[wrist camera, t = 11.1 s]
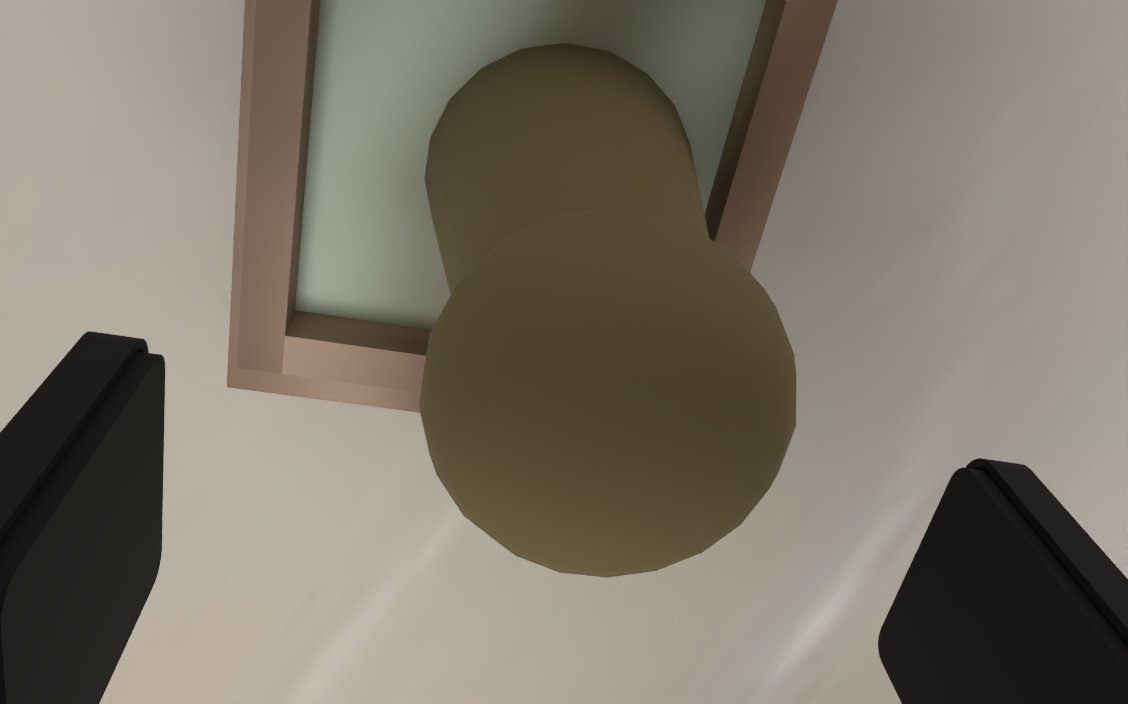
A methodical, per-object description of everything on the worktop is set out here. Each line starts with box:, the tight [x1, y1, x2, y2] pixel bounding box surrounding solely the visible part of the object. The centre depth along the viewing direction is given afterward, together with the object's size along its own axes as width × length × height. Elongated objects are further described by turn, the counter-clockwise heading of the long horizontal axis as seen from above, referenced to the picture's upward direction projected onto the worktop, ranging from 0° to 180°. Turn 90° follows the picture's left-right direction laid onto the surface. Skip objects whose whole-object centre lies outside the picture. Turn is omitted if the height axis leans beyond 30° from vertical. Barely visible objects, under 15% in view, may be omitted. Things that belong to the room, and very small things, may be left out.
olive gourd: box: [419, 43, 796, 577], centre depth 17 cm, size 6×6×11 cm
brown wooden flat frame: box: [227, 0, 837, 412], centre depth 22 cm, size 12×14×4 cm
